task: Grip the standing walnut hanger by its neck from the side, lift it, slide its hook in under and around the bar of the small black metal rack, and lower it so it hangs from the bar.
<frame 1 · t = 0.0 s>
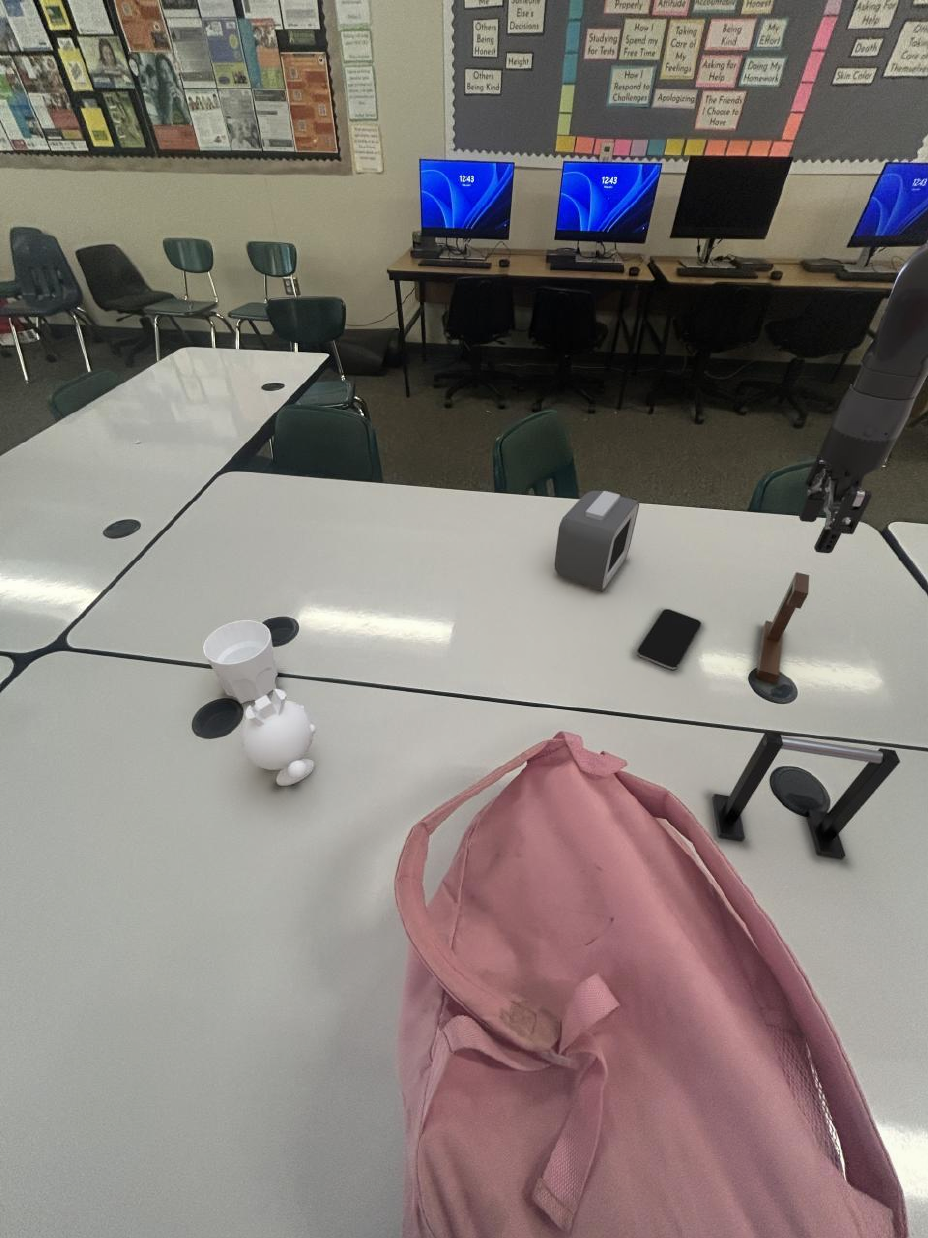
hand: (813, 535, 82), 25 cm above the table, tool pointing down, fingers open, 8 cm apart
rack: (774, 827, 74), on the table
alarm clock: (588, 567, 119), on the table
toy robot: (290, 768, 82), on the table
smartphone: (669, 639, 102), on the table
cup: (253, 685, 94), on the table
hanger: (768, 652, 100), on the table
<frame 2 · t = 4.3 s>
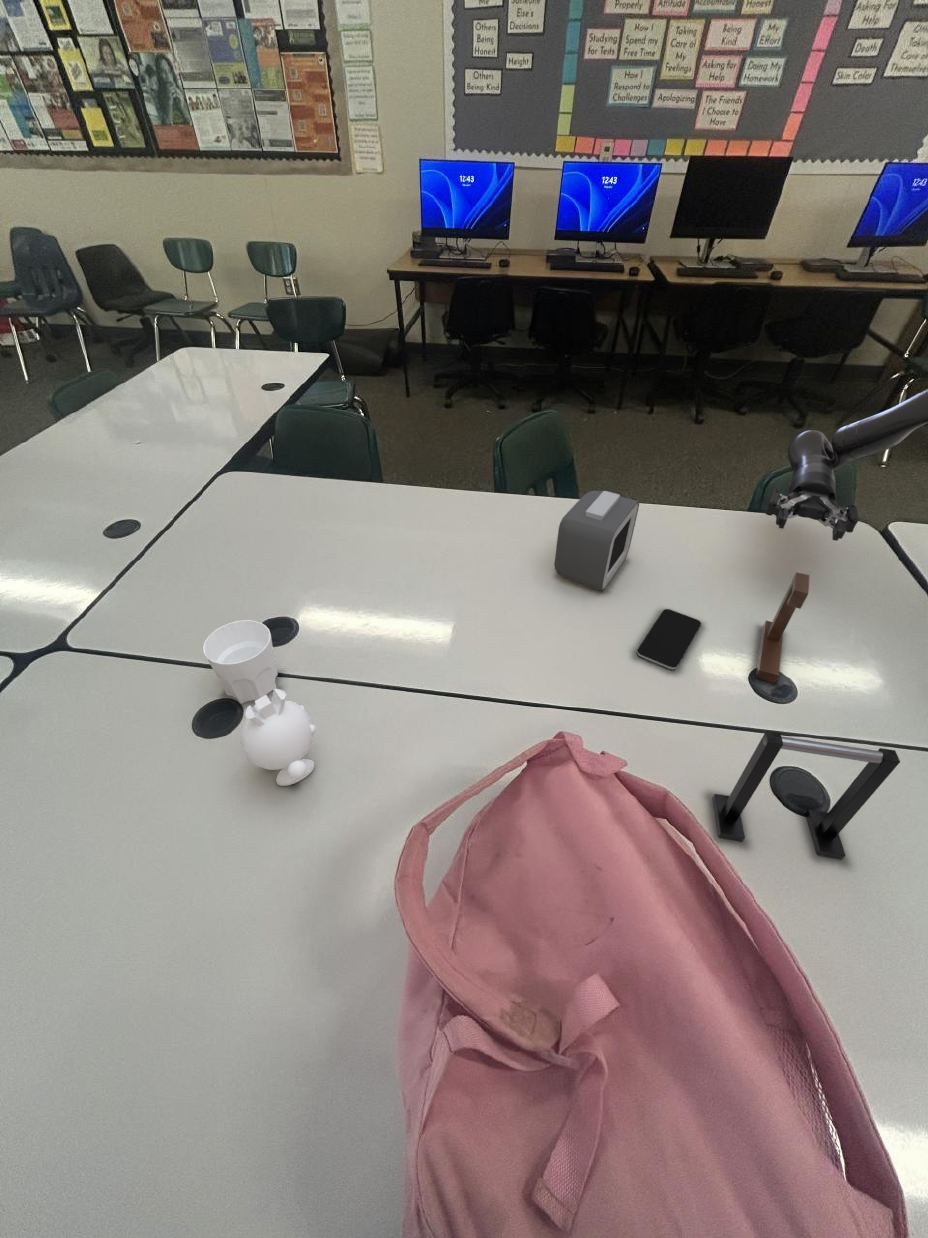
hand: (809, 529, 97), 18 cm above the table, tool horizontal, fingers open, 8 cm apart
nothing on the table moved.
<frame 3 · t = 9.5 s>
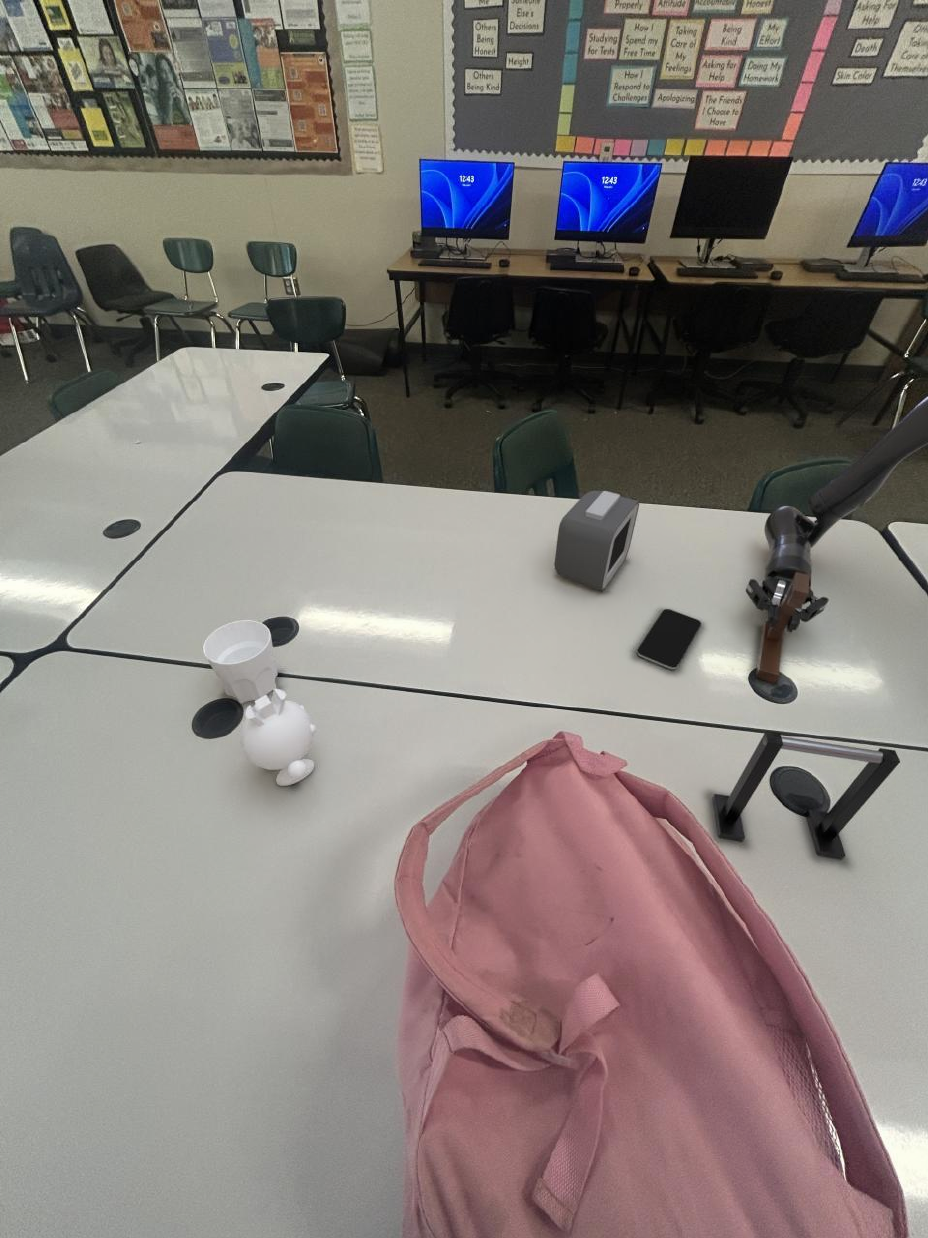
hand: (782, 625, 94), 7 cm above the table, tool horizontal, fingers closed on hanger, 2 cm apart
hanger: (768, 652, 100), on the table, touching gripper
everything else where it was.
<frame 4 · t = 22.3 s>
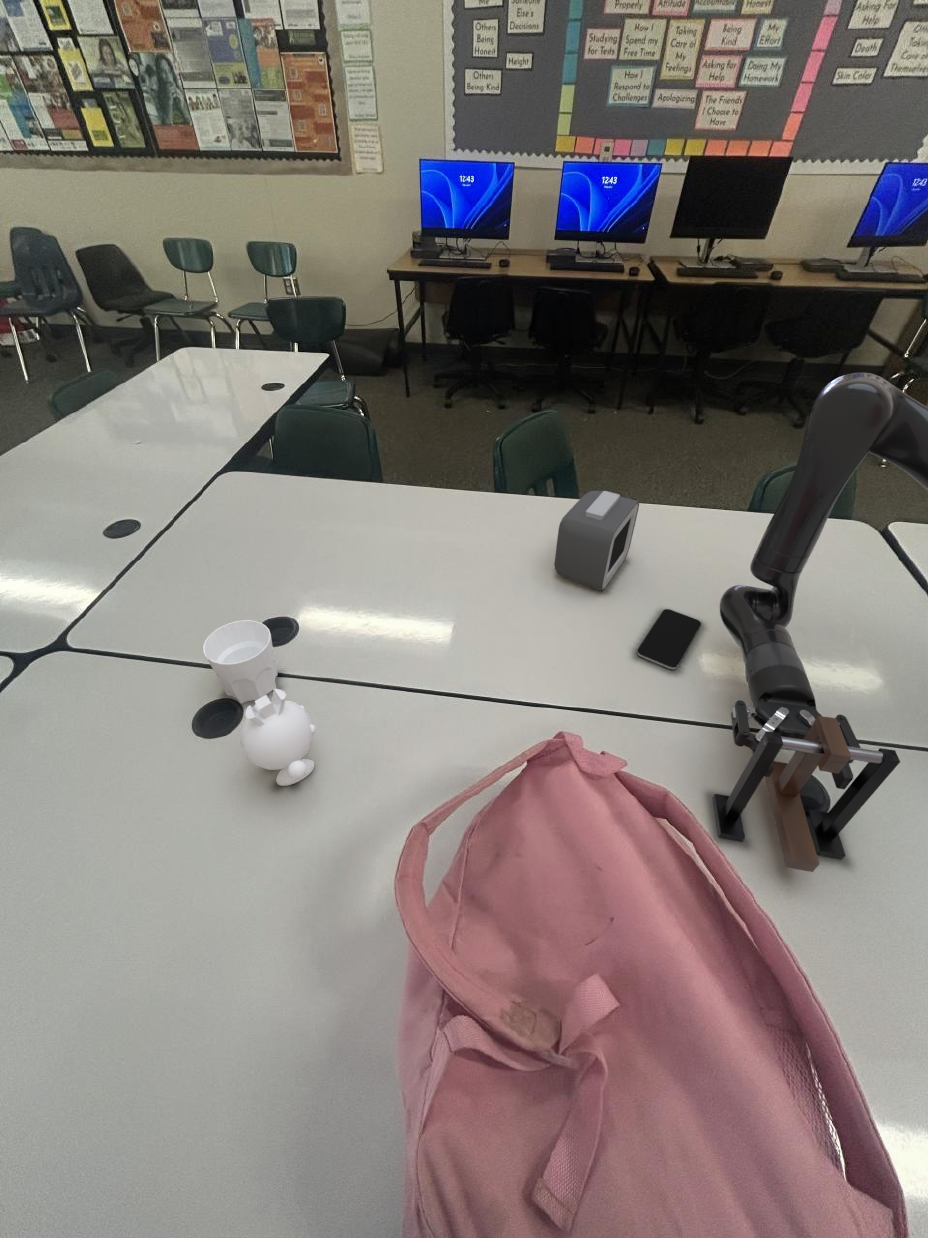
hand: (806, 779, 68), 11 cm above the table, tool horizontal, fingers open, 8 cm apart
hanger: (784, 812, 72), point 4 cm above the table, touching rack
everything else where it was.
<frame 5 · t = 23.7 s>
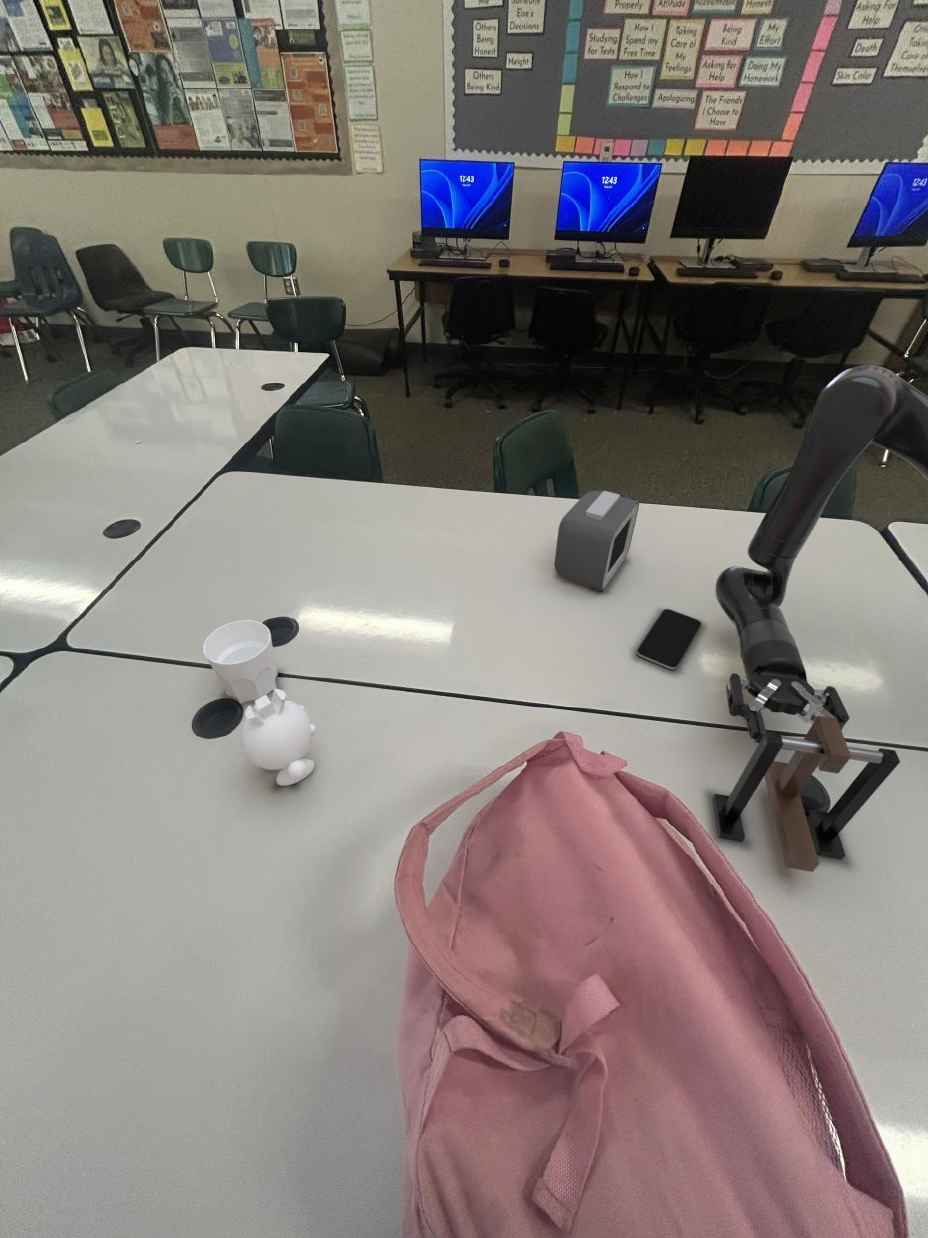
hand: (797, 745, 71), 11 cm above the table, tool horizontal, fingers open, 8 cm apart
nothing on the table moved.
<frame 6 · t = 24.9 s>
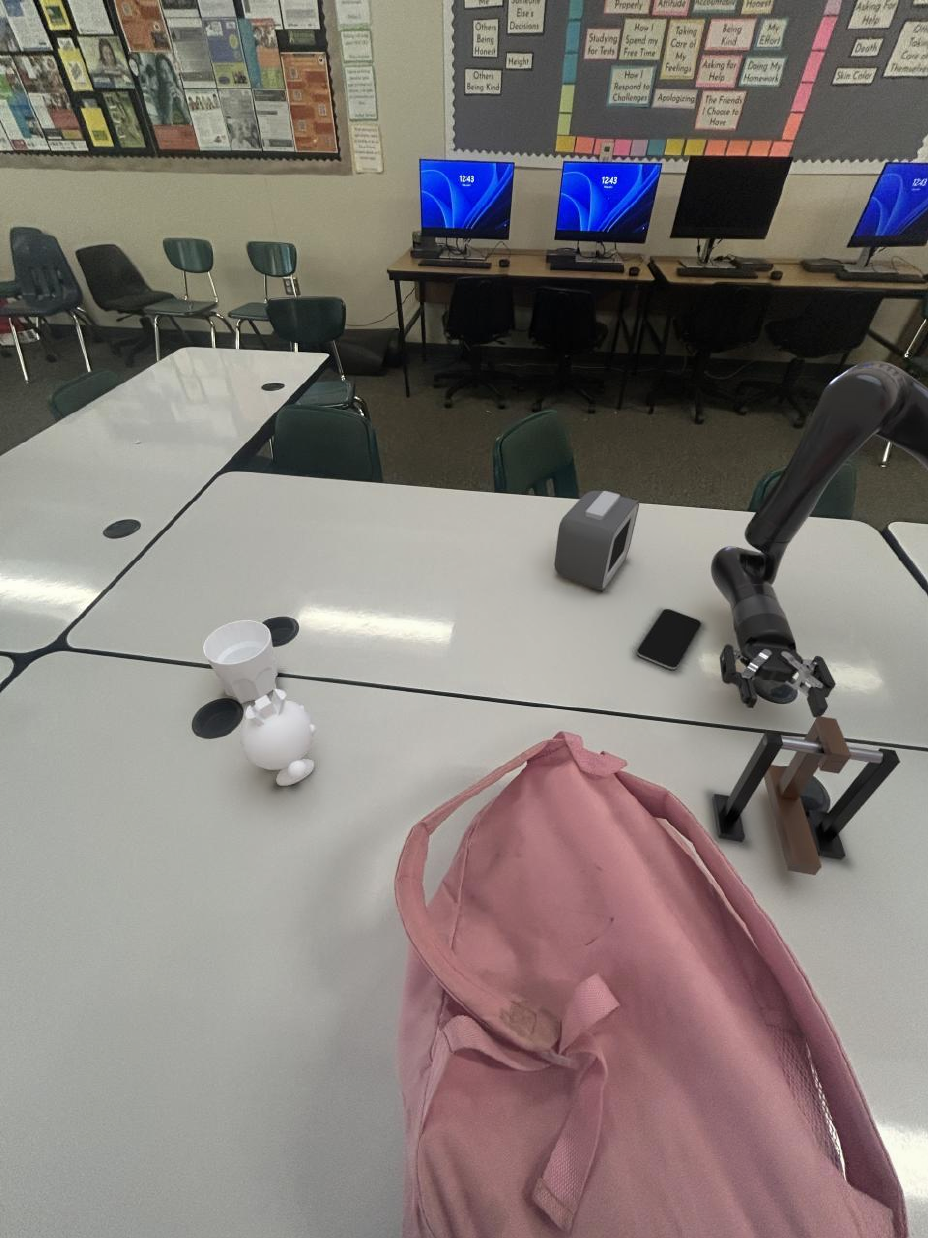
hand: (785, 709, 76), 11 cm above the table, tool horizontal, fingers open, 8 cm apart
nothing on the table moved.
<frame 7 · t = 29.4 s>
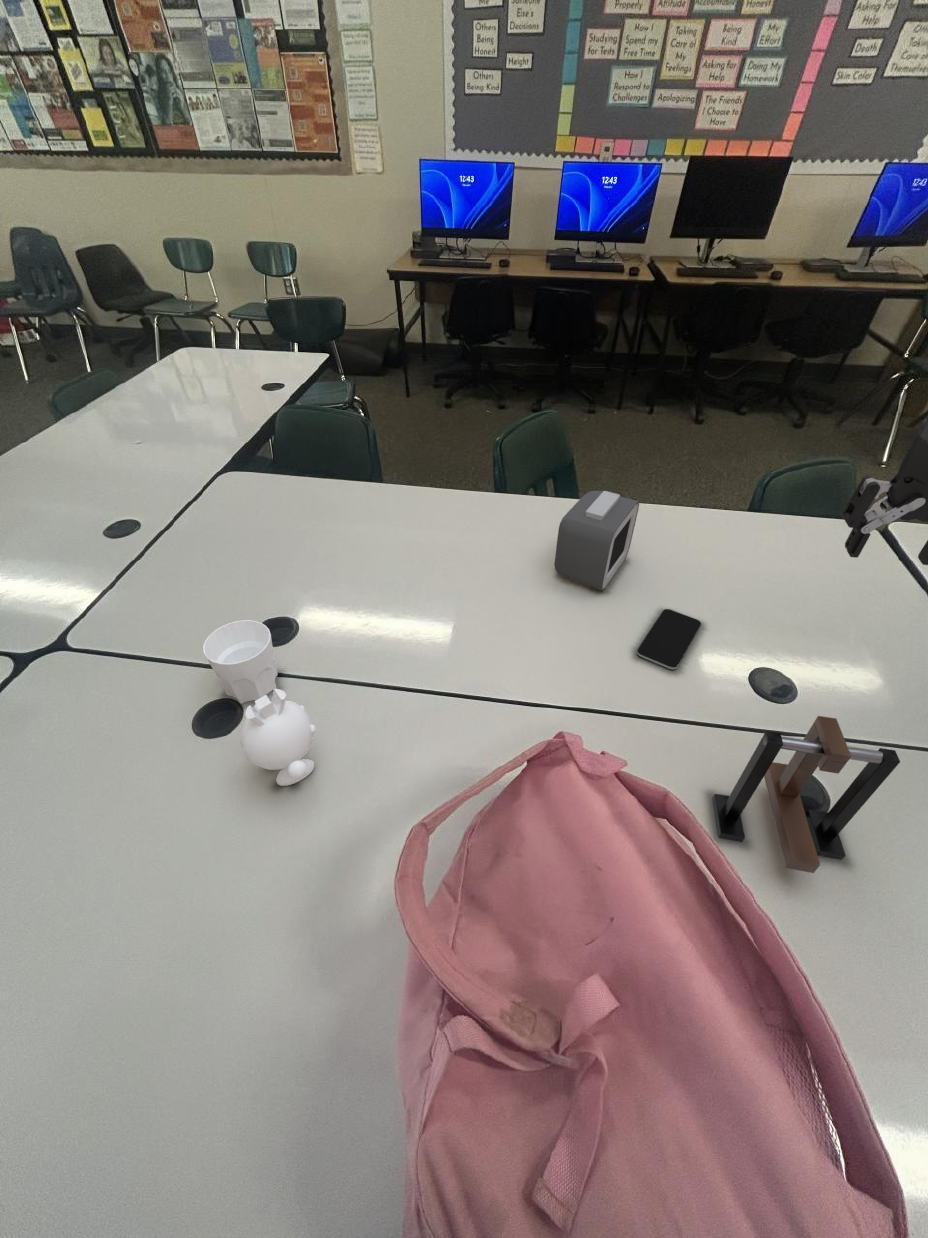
hand: (887, 557, 73), 28 cm above the table, tool pointing down, fingers open, 8 cm apart
nothing on the table moved.
at the end: hanger 1.0 cm off-centre on the rack, point 3.7 cm above the rack's base; hanger touching rack; the gripper is holding nothing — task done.
